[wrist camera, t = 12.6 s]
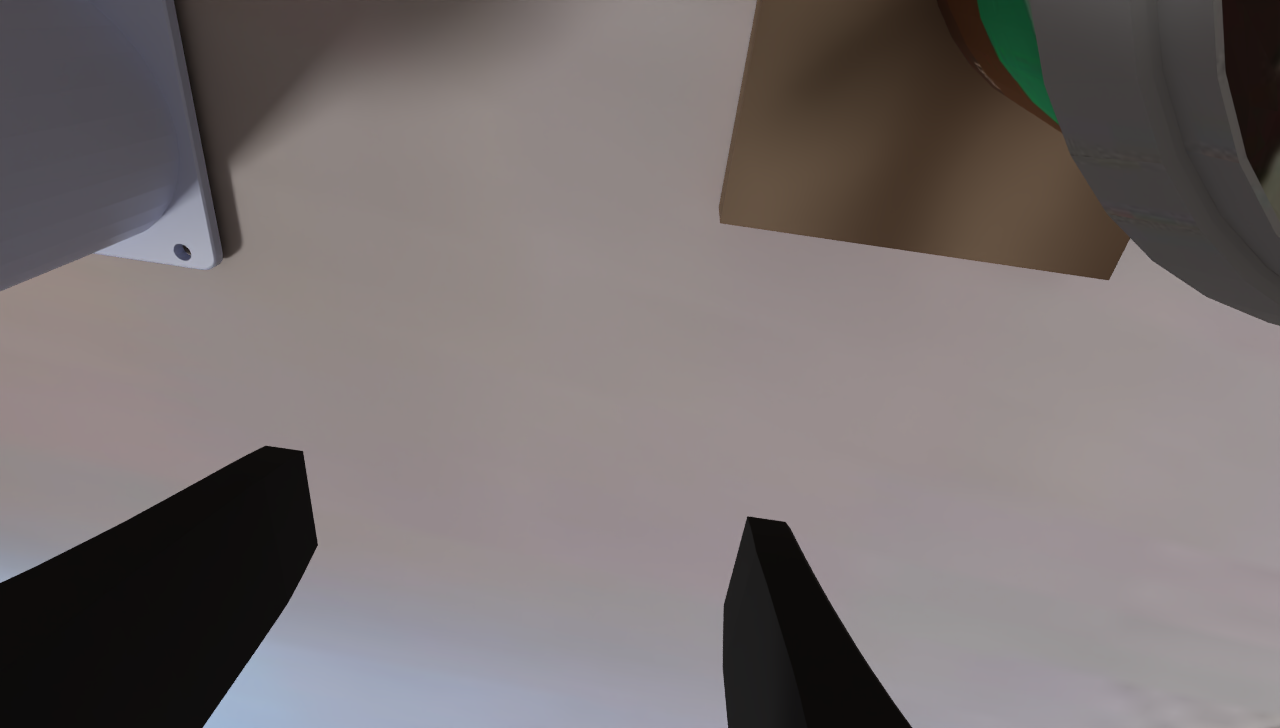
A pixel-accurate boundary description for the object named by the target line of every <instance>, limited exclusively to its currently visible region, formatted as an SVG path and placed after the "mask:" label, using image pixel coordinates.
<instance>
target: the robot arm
mask: <svg viewBox="0 0 1280 728" xmlns="http://www.w3.org/2000/svg"><path fill="white" fill-rule="evenodd" d="M183 245H185V246H186V247H187V248H188V249H189V250H190V252H191V255H189V254H187V253H186V252H185V250H184V248H183ZM92 253H93V254H100V255H107V256H114V257H120V258H127V259H134V260H140V261H147V262H154V263H160V264H167V265H174V266H180V267H187V268H194V269H200V270H210V269H211V268H213V267H215V266H217V265H219V264H220V263H221V261H222V259H223V252H222V247H221V242H220V237H219V231H218V226H217V221H216V216H215V211H214V206H213V201H212V195H211V190H210V185H209V180H208V175H207V170H206V164H205V159H204V154H203V149H202V144H201V139H200V133H199V128H198V123H197V118H196V113H195V108H194V103H193V97H192V92H191V87H190V82H189V77H188V72H187V66H186V61H185V56H184V51H183V46H182V41H181V35H180V30H179V25H178V20H177V15H176V10H175V5H174V0H0V291H2V290H5V289H7V288H10V287H12V286H14V285H17V284H19V283H22V282H24V281H27V280H29V279H31V278H34V277H36V276H39V275H41V274H44V273H46V272H48V271H51V270H53V269H56V268H58V267H61V266H63V265H65V264H68V263H70V262H73V261H75V260H78V259H80V258H83V257H85V256H87V255H90V254H92ZM317 546H318V543H317V537H316V531H315V524H314V518H313V512H312V505H311V499H310V493H309V487H308V480H307V474H306V468H305V461H304V455H303V451H298V450H292V449H285V448H278V447H271V446H264V447H262V448H260V449H258V450H256V451H254V452H252V453H250V454H248V455H246V456H244V457H242V458H240V459H239V460H237V461H235V462H233V463H231V464H229V465H227V466H226V467H224V468H222V469H220V470H218V471H216V472H215V473H213V474H211V475H209V476H207V477H206V478H204V479H202V480H200V481H198V482H197V483H195V484H193V485H191V486H189V487H187V488H186V489H184V490H182V491H180V492H178V493H177V494H175V495H173V496H171V497H169V498H167V499H166V500H164V501H162V502H160V503H158V504H156V505H154V506H153V507H151V508H149V509H147V510H145V511H143V512H142V513H140V514H138V515H136V516H134V517H132V518H131V519H129V520H127V521H125V522H123V523H121V524H119V525H117V526H115V527H113V528H111V529H109V530H107V531H105V532H103V533H101V534H100V535H98V536H96V537H94V538H92V539H90V540H88V541H86V542H84V543H82V544H80V545H78V546H76V547H74V548H72V549H70V550H68V551H66V552H64V553H62V554H60V555H58V556H56V557H54V558H52V559H50V560H48V561H46V562H44V563H42V564H40V565H38V566H36V567H34V568H32V569H30V570H27V571H25V572H23V573H21V574H19V575H17V576H15V577H12V578H10V579H8V580H6V581H4V582H1V583H0V728H203V726H204V725H205V723H206V722H207V720H208V719H209V718H210V716H211V715H212V713H213V712H214V710H215V709H216V707H217V706H218V705H219V703H220V702H221V700H222V699H223V697H224V696H225V694H226V693H227V692H228V690H229V689H230V687H231V686H232V684H233V683H234V681H235V680H236V678H237V677H238V676H239V674H240V673H241V671H242V670H243V668H244V667H245V665H246V664H247V663H248V661H249V660H250V658H251V657H252V655H253V654H254V652H255V651H256V650H257V648H258V647H259V645H260V644H261V642H262V641H263V639H264V638H265V636H266V635H267V633H268V632H269V630H270V629H271V628H272V626H273V625H274V623H275V622H276V620H277V619H278V617H279V616H280V614H281V613H282V611H283V610H284V608H285V607H286V605H287V604H288V602H289V600H290V598H291V596H292V594H293V593H294V591H295V589H296V587H297V585H298V583H299V581H300V580H301V578H302V576H303V574H304V572H305V570H306V568H307V566H308V564H309V562H310V560H311V558H312V556H313V554H314V552H315V550H316V548H317ZM723 675H724V687H725V698H726V709H727V720H728V728H912V727H911V725H910V724H909V723H908V721H907V720H906V719H905V717H904V716H903V714H902V713H901V712H900V710H899V709H898V707H897V706H896V705H895V703H894V702H893V700H892V699H891V697H890V696H889V695H888V693H887V692H886V690H885V689H884V687H883V686H882V684H881V683H880V681H879V680H878V678H877V677H876V675H875V674H874V672H873V671H872V670H871V668H870V666H869V665H868V663H867V662H866V660H865V659H864V657H863V656H862V654H861V653H860V651H859V649H858V648H857V646H856V645H855V643H854V641H853V640H852V638H851V636H850V635H849V633H848V631H847V630H846V628H845V627H844V625H843V623H842V622H841V620H840V618H839V617H838V615H837V613H836V612H835V610H834V608H833V607H832V605H831V603H830V601H829V600H828V598H827V596H826V595H825V593H824V591H823V589H822V587H821V586H820V584H819V582H818V580H817V578H816V577H815V575H814V573H813V571H812V569H811V567H810V566H809V564H808V562H807V560H806V558H805V556H804V554H803V552H802V550H801V548H800V547H799V545H798V543H797V541H796V539H795V537H794V535H793V533H792V531H791V529H790V527H789V526H788V525H787V523H786V522H782V521H775V520H768V519H762V518H755V517H748V516H747V520H746V524H745V528H744V531H743V535H742V539H741V543H740V546H739V550H738V554H737V558H736V561H735V565H734V569H733V573H732V576H731V580H730V584H729V588H728V591H727V595H726V599H725V603H724V622H723Z"/></svg>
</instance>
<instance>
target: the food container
mask: <svg viewBox="0 0 1280 728" xmlns="http://www.w3.org/2000/svg"><path fill="white" fill-rule="evenodd" d="M937 4H938V7H939V9H940V12H941V14H942V16H943V19H944V21H945V23H946V26H947V28H948V30H949V32H950V35H951V37H952V39H953V40H954V42H955V43H956V45H957V46H958V48H959V49H960V51H961V52H962V54H963V55H964V57H965V58H966V60H967V61H968V63H969V64H970V65H971V66H972V67H973V68H974V69H975V70H976V71H977V72H978V73H979V74H980V75H981V76H982V77H983V78H984V79H985V80H986V81H987V82H988V83H989V84H990V85H991V86H992V87H993V88H994V89H996V90H997V91H998V92H1000V93H1001V94H1003V95H1004V96H1006V97H1007V98H1009V99H1010V100H1012V101H1013V102H1015V103H1016V104H1018V105H1019V106H1021V107H1022V108H1024V109H1025V110H1027V111H1028V112H1030V113H1032V114H1033V115H1035V116H1036V117H1038V118H1039V119H1041V120H1042V121H1044V122H1045V123H1047V124H1048V125H1050V126H1051V127H1053V128H1054V129H1056V130H1058V131H1059V132H1061V133H1062V134H1063V136H1064V139H1065V142H1066V145H1067V147H1068V150H1069V153H1070V155H1071V157H1072V159H1073V160H1074V162H1075V163H1076V165H1077V167H1078V168H1079V170H1080V171H1081V173H1082V175H1083V176H1084V178H1085V179H1086V181H1087V183H1088V184H1089V186H1090V187H1091V189H1092V191H1093V192H1094V194H1095V195H1096V197H1097V199H1098V200H1099V202H1100V203H1101V205H1102V207H1103V208H1104V210H1105V211H1106V213H1107V214H1108V215H1109V216H1110V218H1111V219H1112V220H1113V221H1114V222H1115V223H1116V224H1117V225H1118V226H1119V227H1120V228H1121V229H1122V230H1123V231H1124V232H1125V233H1126V234H1127V235H1128V236H1129V237H1130V238H1131V239H1132V240H1133V241H1134V242H1135V243H1136V244H1137V245H1138V246H1139V247H1140V248H1141V249H1142V250H1143V251H1144V252H1145V253H1146V255H1147V256H1148V257H1149V258H1150V259H1151V260H1152V261H1154V262H1155V263H1157V264H1158V265H1160V266H1161V267H1163V268H1164V269H1166V270H1167V271H1169V272H1170V273H1172V274H1173V275H1175V276H1176V277H1178V278H1179V279H1181V280H1182V281H1184V282H1185V283H1187V284H1188V285H1190V286H1191V287H1193V288H1194V289H1196V290H1197V291H1199V292H1200V293H1202V294H1203V295H1205V296H1206V297H1208V298H1211V299H1213V300H1215V301H1218V302H1220V303H1223V304H1225V305H1227V306H1230V307H1232V308H1235V309H1237V310H1239V311H1242V312H1244V313H1247V314H1249V315H1251V316H1254V317H1256V318H1259V319H1261V320H1263V321H1266V322H1268V323H1272V324H1275V325H1279V326H1280V0H937Z"/></svg>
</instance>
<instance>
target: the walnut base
mask: <svg viewBox="0 0 1280 728" xmlns="http://www.w3.org/2000/svg"><path fill="white" fill-rule="evenodd" d="M719 215H720V223H723V224H730V225H737V226H743V227H750V228H757V229H764V230H771V231H777V232H784V233H791V234H798V235H805V236H811V237H818V238H825V239H832V240H839V241H845V242H852V243H859V244H866V245H873V246H879V247H886V248H893V249H900V250H907V251H913V252H920V253H927V254H934V255H941V256H947V257H954V258H961V259H968V260H975V261H981V262H988V263H995V264H1002V265H1009V266H1015V267H1022V268H1029V269H1036V270H1043V271H1049V272H1056V273H1063V274H1070V275H1077V276H1083V277H1090V278H1097V279H1104V280H1109V279H1110V277H1111V275H1112V273H1113V271H1114V269H1115V267H1116V265H1117V263H1118V261H1119V259H1120V257H1121V255H1122V253H1123V251H1124V249H1125V247H1126V245H1127V243H1128V241H1129V239H1130V237H1129V236H1128V235H1127V234H1126V233H1125V232H1124V231H1123V230H1122V229H1121V228H1120V227H1119V226H1118V225H1117V224H1116V223H1115V222H1114V221H1113V220H1112V219H1111V218H1110V216H1109V215H1108V214H1107V213H1106V211H1105V210H1104V208H1103V207H1102V205H1101V203H1100V202H1099V200H1098V199H1097V197H1096V195H1095V194H1094V192H1093V191H1092V189H1091V187H1090V186H1089V184H1088V183H1087V181H1086V179H1085V178H1084V176H1083V175H1082V173H1081V171H1080V170H1079V168H1078V167H1077V165H1076V163H1075V162H1074V160H1073V159H1072V157H1071V155H1070V153H1069V150H1068V147H1067V145H1066V142H1065V139H1064V136H1063V134H1062V133H1061V132H1059V131H1058V130H1056V129H1054V128H1053V127H1051V126H1050V125H1048V124H1047V123H1045V122H1044V121H1042V120H1041V119H1039V118H1038V117H1036V116H1035V115H1033V114H1032V113H1030V112H1028V111H1027V110H1025V109H1024V108H1022V107H1021V106H1019V105H1018V104H1016V103H1015V102H1013V101H1012V100H1010V99H1009V98H1007V97H1006V96H1004V95H1003V94H1001V93H1000V92H998V91H997V90H996V89H994V88H993V87H992V86H991V85H990V84H989V83H988V82H987V81H986V80H985V79H984V78H983V77H982V76H981V75H980V74H979V73H978V72H977V71H976V70H975V69H974V68H973V67H972V66H971V65H970V64H969V63H968V61H967V60H966V58H965V57H964V55H963V54H962V52H961V51H960V49H959V48H958V46H957V45H956V43H955V42H954V40H953V39H952V37H951V35H950V32H949V30H948V28H947V26H946V23H945V21H944V19H943V16H942V14H941V12H940V9H939V7H938V4H937V0H757V4H756V10H755V15H754V20H753V26H752V31H751V37H750V42H749V47H748V53H747V58H746V64H745V69H744V74H743V80H742V85H741V91H740V96H739V101H738V107H737V112H736V118H735V123H734V129H733V134H732V139H731V145H730V150H729V156H728V161H727V166H726V172H725V177H724V183H723V188H722V193H721V199H720V204H719Z"/></svg>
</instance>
